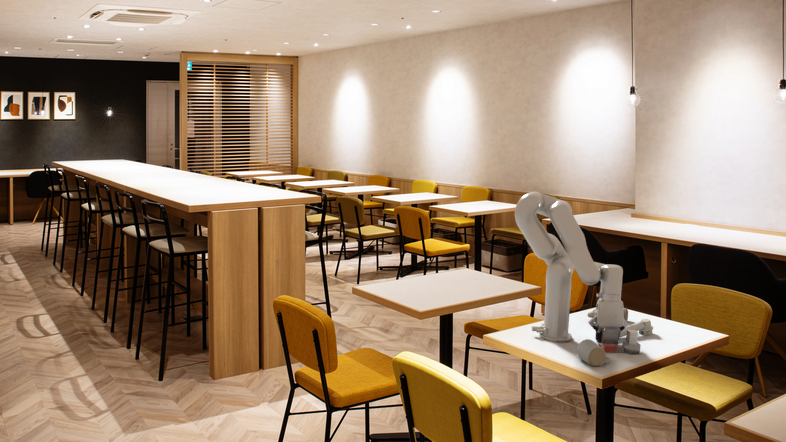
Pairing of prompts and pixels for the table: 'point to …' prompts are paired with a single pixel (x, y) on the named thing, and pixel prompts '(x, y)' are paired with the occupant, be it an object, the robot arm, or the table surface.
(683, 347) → the table surface
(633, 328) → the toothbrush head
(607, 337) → the brushed grey cube
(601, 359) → the ceramic mug
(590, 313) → the grey clay vessel
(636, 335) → the ratchet
